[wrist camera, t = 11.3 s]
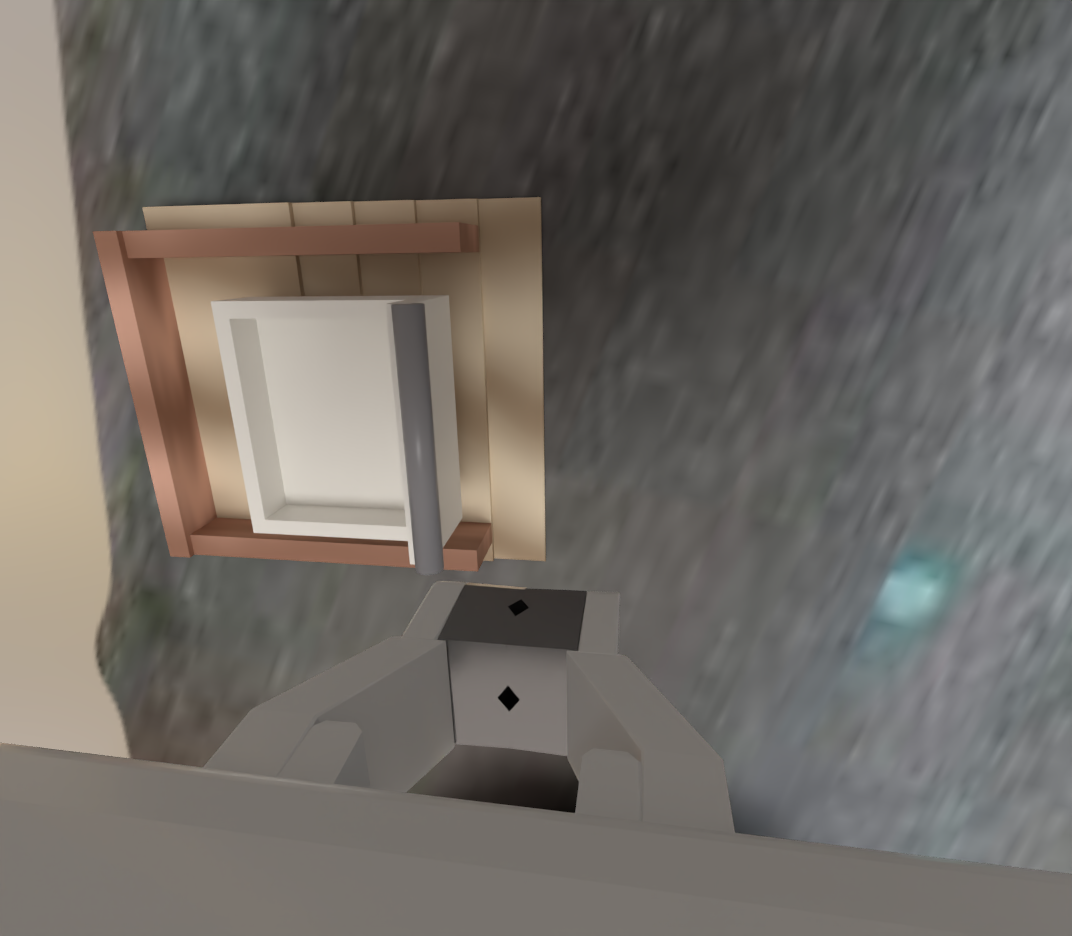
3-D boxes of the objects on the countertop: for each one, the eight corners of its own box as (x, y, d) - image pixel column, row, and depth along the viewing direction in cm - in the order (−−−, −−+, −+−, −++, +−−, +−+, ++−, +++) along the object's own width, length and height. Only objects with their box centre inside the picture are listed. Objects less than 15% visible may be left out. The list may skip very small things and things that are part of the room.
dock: (155, 209, 27) (86, 203, 23) (541, 197, 24) (526, 188, 21) (223, 541, 32) (174, 575, 28) (545, 559, 29) (534, 599, 26)
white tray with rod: (272, 294, 25) (159, 306, 19) (472, 292, 24) (418, 305, 18) (303, 496, 28) (213, 562, 22) (482, 503, 27) (439, 576, 21)
